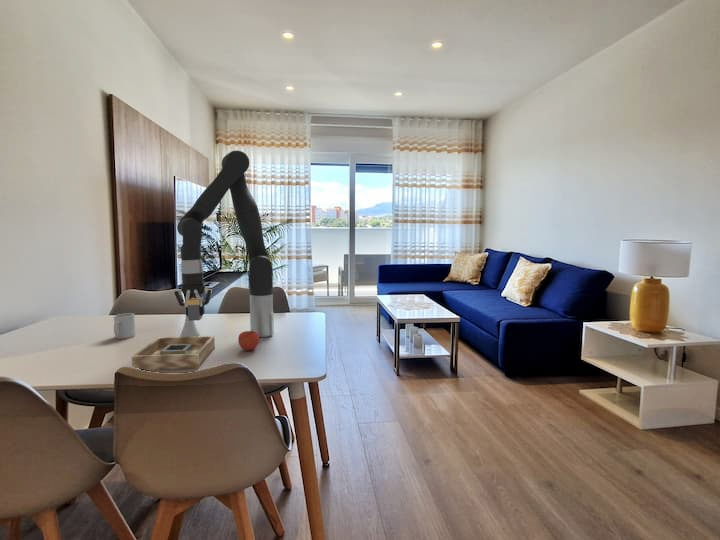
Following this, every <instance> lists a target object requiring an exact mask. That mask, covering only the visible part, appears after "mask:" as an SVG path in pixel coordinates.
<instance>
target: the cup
mask: <svg viewBox="0 0 720 540" xmlns="http://www.w3.org/2000/svg"><path fill="white" fill-rule="evenodd" d="M135 319H136V318H135V313H132V312H129V313H127V312H126V313H118V314H115V315H114V316H113V322H114V324H113V333H114V337H115V339H117V338H118V340H124V339H131V338H134V337H135V336H136V320H135Z"/></svg>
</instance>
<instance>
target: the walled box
mask: <svg viewBox="0 0 720 540" xmlns="http://www.w3.org/2000/svg"><path fill="white" fill-rule="evenodd" d="M215 338H216V337H215V336H212V335H211V336H210V335H209V336H205V335H204V336H197V337H180V336H163V337H162V336H161V337H160V336H158V337H157V338H155V339H154V340H152V341H151V342H150V343H148V344H147V345H145V346H144V347H143V348H141V349H140V350H139V351H137V352H135V353H134V354H133V355H132V356H131V368H132V367H134V368H139V369H144V370H143V371H154V370H155V371H156V370H158V371H159V370H187V369H188V370H193V369H195V370H196V369H199V368H200V367H201V366H202V365H203V364H204V362H205V361H206V359H208V358H209V356H210V355H211V354H212V352H213V351H214V350H215V348H216V346H215V345H216V340H215ZM169 344H192V350H193V352H192V353H191V354H173V355H160V351H161V350H162V349H164V348H165V347H166V346H167V345H169Z"/></svg>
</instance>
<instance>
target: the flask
mask: <svg viewBox="0 0 720 540" xmlns="http://www.w3.org/2000/svg"><path fill="white" fill-rule="evenodd" d="M184 315H185V322H184V325H183V327H182V329H181V334H180V336H179V337H200V336H201V334H200V331H199V330H198V327H197V324H196V323H195V320H194V321H189V318H188V317H187V315H186V312H184Z"/></svg>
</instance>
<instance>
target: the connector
mask: <svg viewBox="0 0 720 540" xmlns="http://www.w3.org/2000/svg"><path fill="white" fill-rule="evenodd" d="M186 305H188V318H189V321H194V322H195V321H201V320H202V319H203V316H200V308H199V307H200V301H199V299H197V298H190V299H189V300H186Z"/></svg>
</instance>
